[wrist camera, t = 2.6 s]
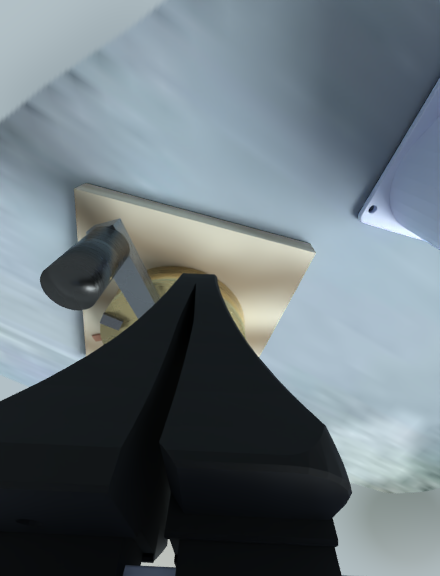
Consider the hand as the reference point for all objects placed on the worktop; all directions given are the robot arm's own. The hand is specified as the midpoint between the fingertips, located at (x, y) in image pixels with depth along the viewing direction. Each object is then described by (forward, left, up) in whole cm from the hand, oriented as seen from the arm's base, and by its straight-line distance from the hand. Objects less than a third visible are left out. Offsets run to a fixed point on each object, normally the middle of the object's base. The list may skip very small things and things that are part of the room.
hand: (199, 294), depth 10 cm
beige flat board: (+9, -1, -9) cm, 13 cm away
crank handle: (+7, -2, -7) cm, 10 cm away
